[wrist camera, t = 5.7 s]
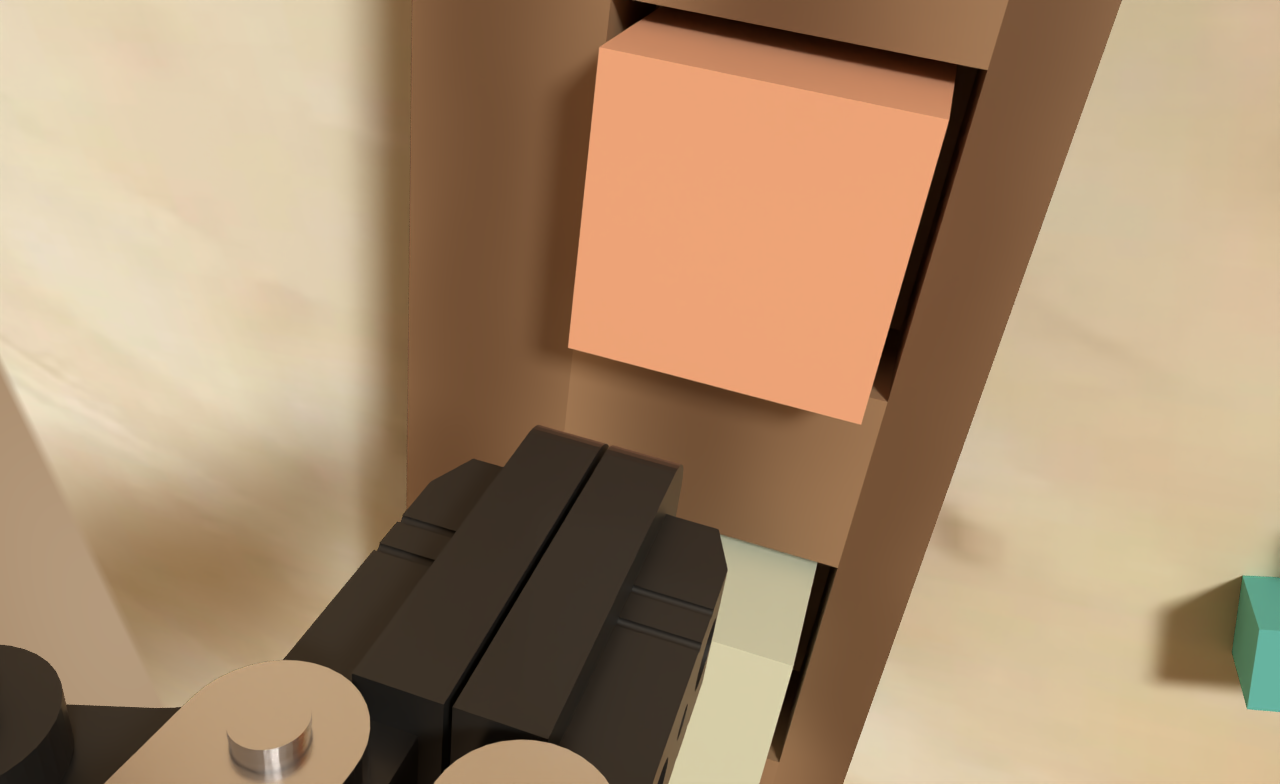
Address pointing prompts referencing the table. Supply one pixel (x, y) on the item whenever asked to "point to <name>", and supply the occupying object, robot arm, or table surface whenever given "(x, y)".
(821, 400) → the terracotta button
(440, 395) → the button panel
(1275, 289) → the table surface
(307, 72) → the table surface
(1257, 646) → the alien figure
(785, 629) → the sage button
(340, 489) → the table surface
